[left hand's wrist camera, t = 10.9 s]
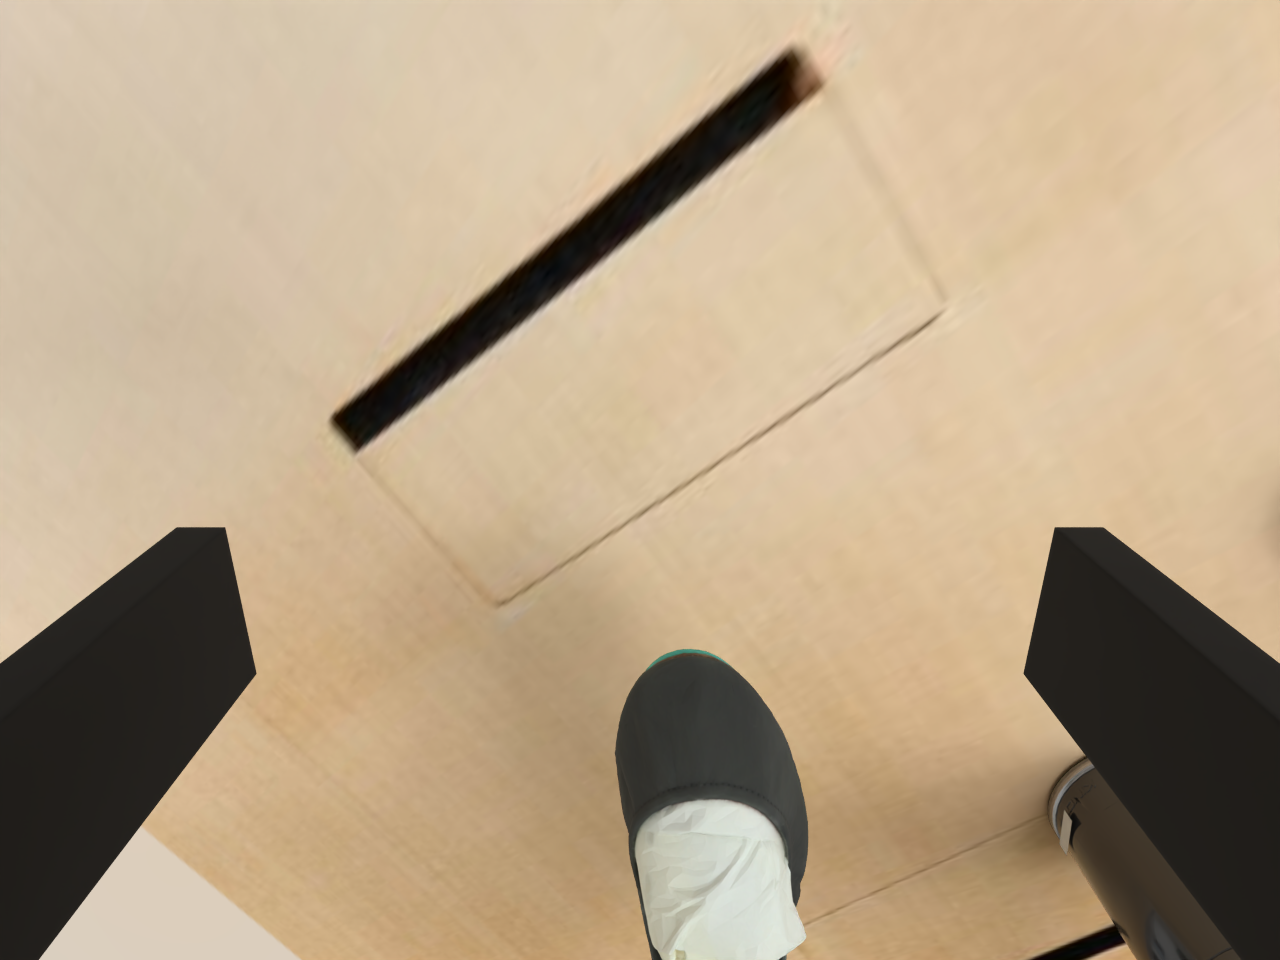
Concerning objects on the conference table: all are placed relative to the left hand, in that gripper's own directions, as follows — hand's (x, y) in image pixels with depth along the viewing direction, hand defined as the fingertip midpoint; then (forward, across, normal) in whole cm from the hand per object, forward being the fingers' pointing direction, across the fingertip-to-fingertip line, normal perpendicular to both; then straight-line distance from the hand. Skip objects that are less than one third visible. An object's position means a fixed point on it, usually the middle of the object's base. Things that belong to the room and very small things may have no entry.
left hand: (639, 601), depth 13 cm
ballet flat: (+18, +4, -24) cm, 31 cm away
